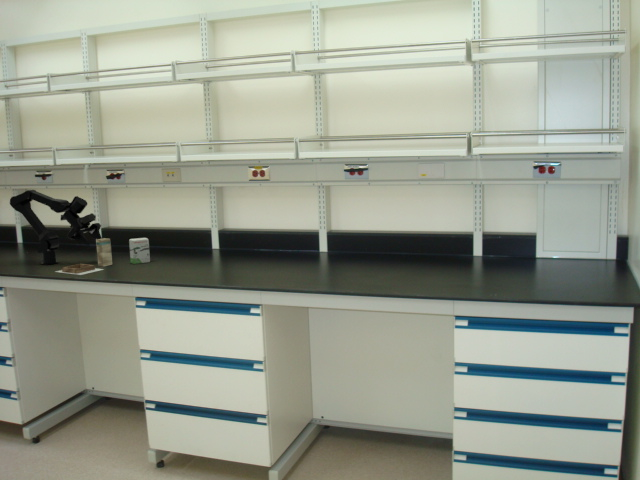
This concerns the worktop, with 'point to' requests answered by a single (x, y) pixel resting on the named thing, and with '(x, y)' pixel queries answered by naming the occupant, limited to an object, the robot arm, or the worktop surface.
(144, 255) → the ink box
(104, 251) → the tan box
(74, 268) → the brown wooden tray
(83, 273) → the mat
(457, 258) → the worktop surface
